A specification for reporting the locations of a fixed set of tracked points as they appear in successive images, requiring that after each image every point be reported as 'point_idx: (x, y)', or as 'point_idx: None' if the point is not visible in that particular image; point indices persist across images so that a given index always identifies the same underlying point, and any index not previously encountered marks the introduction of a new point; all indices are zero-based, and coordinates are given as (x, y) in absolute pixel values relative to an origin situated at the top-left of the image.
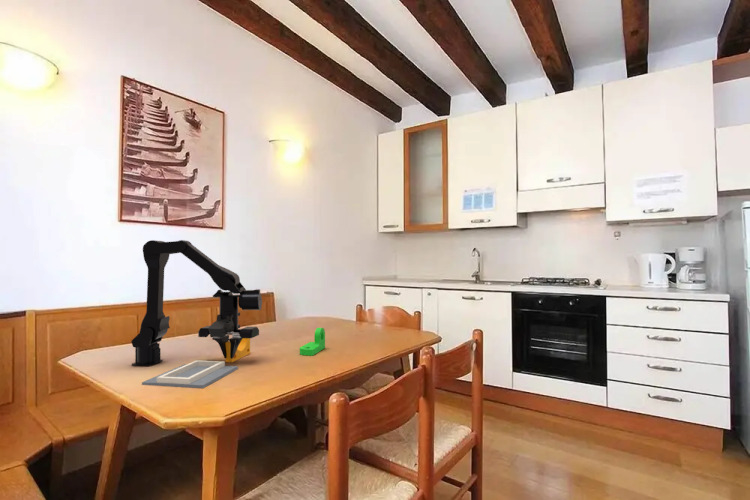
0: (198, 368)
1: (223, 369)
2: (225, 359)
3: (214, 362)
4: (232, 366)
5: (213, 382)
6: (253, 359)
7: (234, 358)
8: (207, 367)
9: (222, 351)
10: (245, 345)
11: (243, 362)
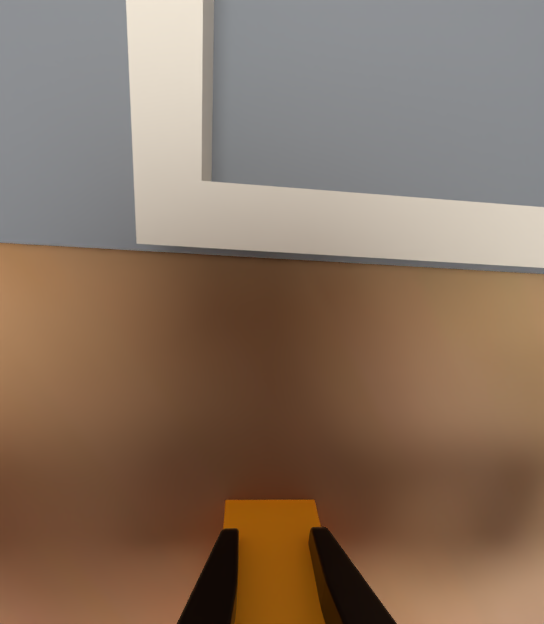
0: (508, 57)
1: (47, 9)
2: (318, 523)
3: (316, 190)
4: (14, 219)
5: None
6: (49, 611)
7: None
8: (389, 133)
9: (384, 622)
10: None
11: (90, 506)
